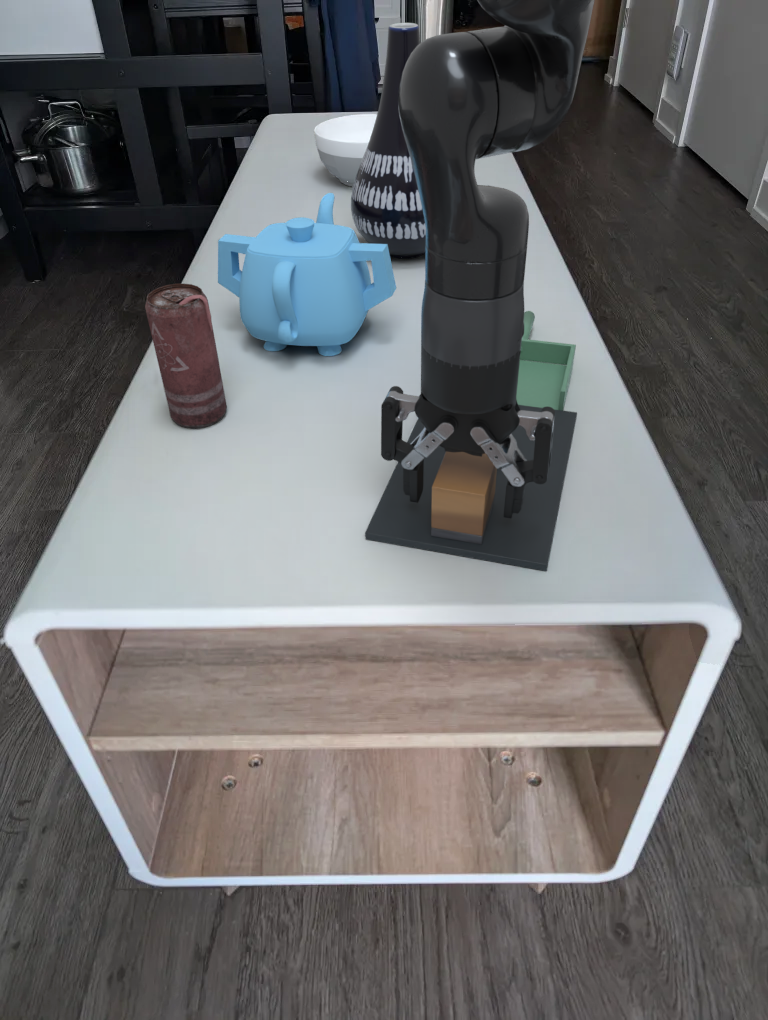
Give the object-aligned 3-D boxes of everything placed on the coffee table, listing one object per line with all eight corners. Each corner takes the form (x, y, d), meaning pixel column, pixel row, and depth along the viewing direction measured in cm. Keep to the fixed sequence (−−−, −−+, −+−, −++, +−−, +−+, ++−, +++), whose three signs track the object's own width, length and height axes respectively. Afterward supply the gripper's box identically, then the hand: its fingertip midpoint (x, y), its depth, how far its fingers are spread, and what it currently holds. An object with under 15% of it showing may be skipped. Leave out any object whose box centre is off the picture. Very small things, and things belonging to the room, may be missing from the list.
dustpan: (562, 415, 85) (565, 391, 83) (443, 399, 88) (444, 376, 86) (580, 332, 99) (583, 310, 97) (477, 321, 102) (478, 300, 100)
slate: (546, 571, 67) (547, 564, 66) (365, 539, 71) (364, 532, 70) (576, 418, 84) (577, 411, 84) (429, 399, 88) (429, 392, 88)
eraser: (481, 545, 68) (485, 495, 65) (430, 536, 70) (431, 486, 66) (494, 502, 73) (498, 453, 69) (446, 494, 74) (447, 446, 70)
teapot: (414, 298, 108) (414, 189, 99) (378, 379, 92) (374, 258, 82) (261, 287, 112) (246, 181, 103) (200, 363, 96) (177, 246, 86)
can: (225, 429, 85) (202, 307, 76) (165, 430, 85) (136, 308, 76) (233, 398, 89) (213, 280, 80) (177, 400, 89) (150, 281, 80)
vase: (477, 242, 122) (488, 19, 103) (423, 280, 112) (424, 41, 93) (390, 223, 129) (386, 11, 110) (332, 257, 119) (316, 30, 100)
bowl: (307, 169, 152) (303, 120, 146) (401, 158, 156) (400, 109, 150) (332, 201, 138) (328, 147, 133) (434, 187, 142) (435, 135, 137)
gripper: (365, 349, 59) (372, 518, 69) (561, 373, 55) (538, 546, 66) (393, 305, 64) (395, 467, 74) (573, 324, 61) (549, 491, 71)
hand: (462, 504), depth 70 cm, fingers open, 8 cm apart
